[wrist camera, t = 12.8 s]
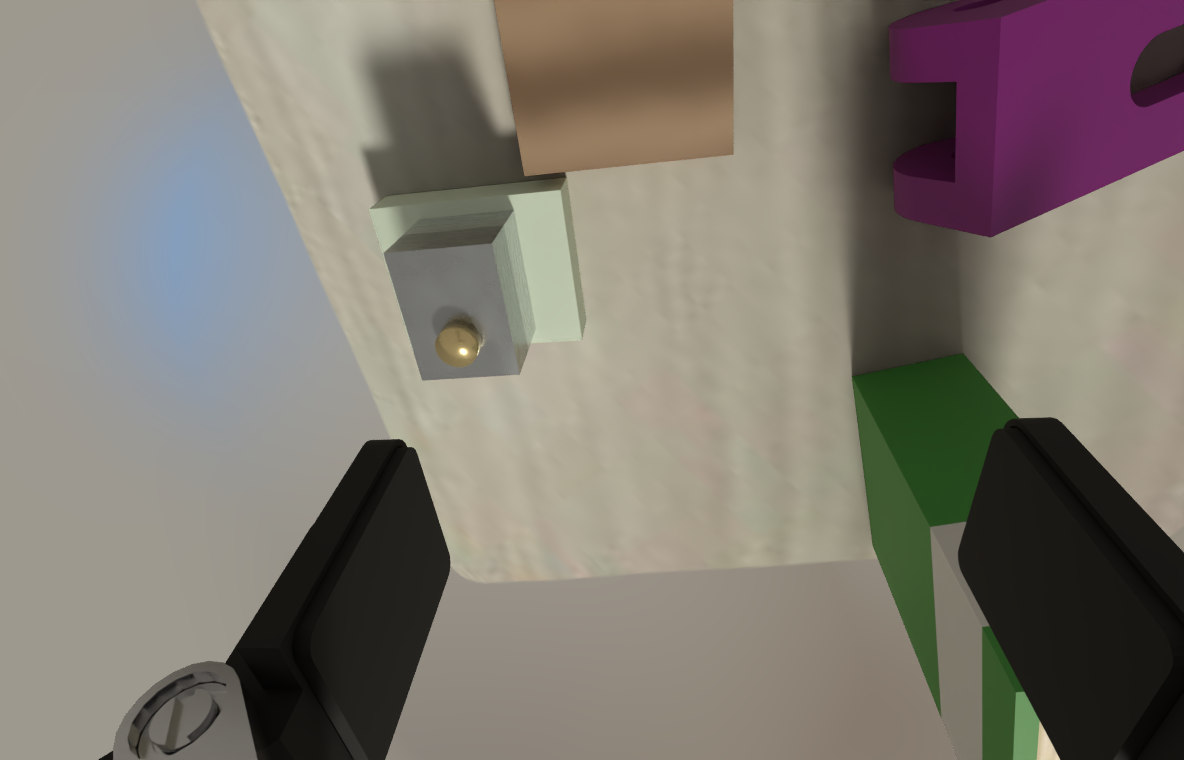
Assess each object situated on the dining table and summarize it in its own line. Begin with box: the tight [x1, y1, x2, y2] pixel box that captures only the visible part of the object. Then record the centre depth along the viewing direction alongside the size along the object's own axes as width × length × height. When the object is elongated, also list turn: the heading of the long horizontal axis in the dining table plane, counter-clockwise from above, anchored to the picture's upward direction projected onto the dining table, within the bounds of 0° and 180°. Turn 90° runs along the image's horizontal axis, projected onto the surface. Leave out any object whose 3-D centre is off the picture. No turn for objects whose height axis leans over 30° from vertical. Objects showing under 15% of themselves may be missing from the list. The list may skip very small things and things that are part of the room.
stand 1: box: [369, 177, 586, 351], centre depth 41 cm, size 10×12×3 cm
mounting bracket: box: [889, 0, 1184, 237], centre depth 32 cm, size 9×8×18 cm
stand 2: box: [494, 0, 733, 176], centre depth 34 cm, size 10×12×3 cm
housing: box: [383, 210, 536, 380], centre depth 37 cm, size 8×6×7 cm
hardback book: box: [852, 354, 1060, 760], centre depth 38 cm, size 18×7×24 cm, turn 18°
